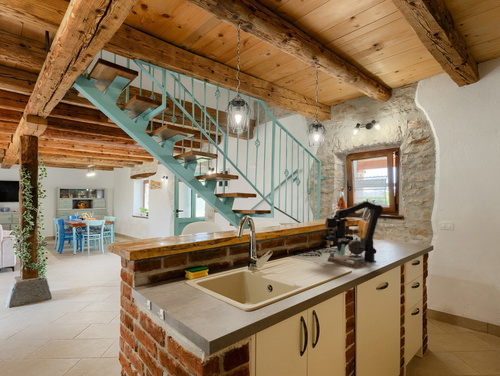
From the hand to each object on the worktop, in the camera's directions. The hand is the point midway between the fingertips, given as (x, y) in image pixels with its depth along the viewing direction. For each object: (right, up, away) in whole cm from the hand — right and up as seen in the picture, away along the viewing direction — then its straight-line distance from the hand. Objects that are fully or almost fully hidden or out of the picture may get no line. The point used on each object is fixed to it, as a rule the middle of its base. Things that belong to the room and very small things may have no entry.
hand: (340, 251), depth 192 cm
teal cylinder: (0, -5, 0) cm, 5 cm away
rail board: (+2, -7, -4) cm, 9 cm away
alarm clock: (+17, -8, +18) cm, 26 cm away
